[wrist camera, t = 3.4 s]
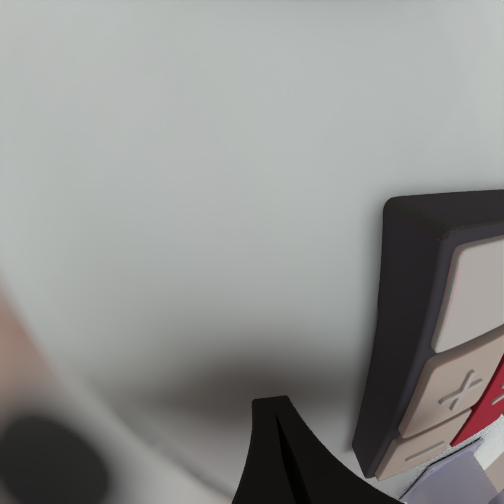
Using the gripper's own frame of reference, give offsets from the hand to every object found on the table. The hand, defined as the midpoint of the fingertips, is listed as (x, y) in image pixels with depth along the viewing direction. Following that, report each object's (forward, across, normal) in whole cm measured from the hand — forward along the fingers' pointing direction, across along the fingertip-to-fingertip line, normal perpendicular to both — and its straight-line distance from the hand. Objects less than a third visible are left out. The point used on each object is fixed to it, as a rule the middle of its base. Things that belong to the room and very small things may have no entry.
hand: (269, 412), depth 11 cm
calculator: (+2, -10, -1) cm, 10 cm away
